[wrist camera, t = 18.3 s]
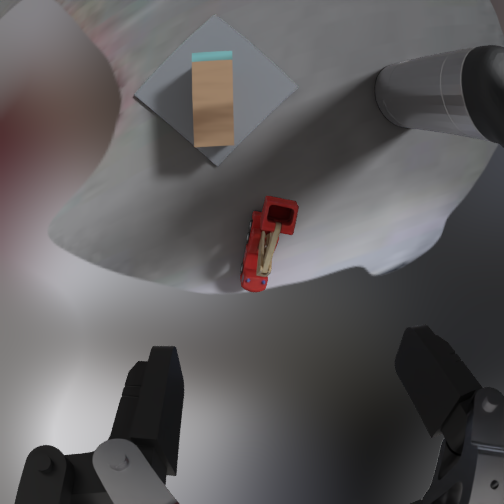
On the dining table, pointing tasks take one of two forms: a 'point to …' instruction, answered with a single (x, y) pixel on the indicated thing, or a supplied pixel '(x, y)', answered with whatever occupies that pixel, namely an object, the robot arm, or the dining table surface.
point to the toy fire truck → (266, 240)
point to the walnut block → (212, 98)
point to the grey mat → (244, 84)
